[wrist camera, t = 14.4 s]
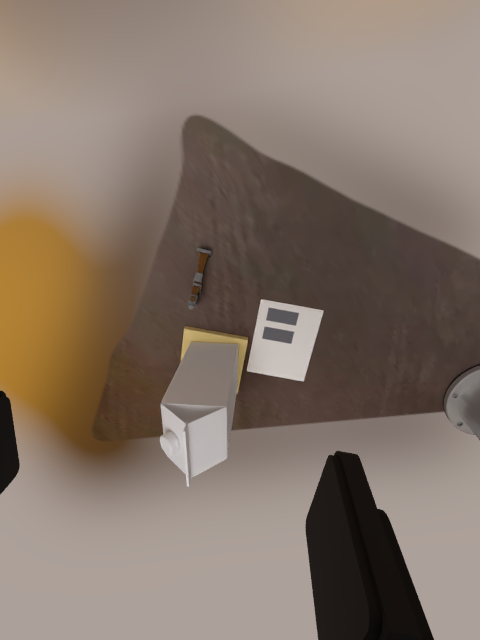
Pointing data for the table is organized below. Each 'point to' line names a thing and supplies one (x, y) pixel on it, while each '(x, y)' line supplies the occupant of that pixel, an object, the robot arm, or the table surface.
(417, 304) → the table surface
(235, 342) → the coaster
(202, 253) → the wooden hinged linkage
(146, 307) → the table surface
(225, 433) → the milk carton
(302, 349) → the tile
